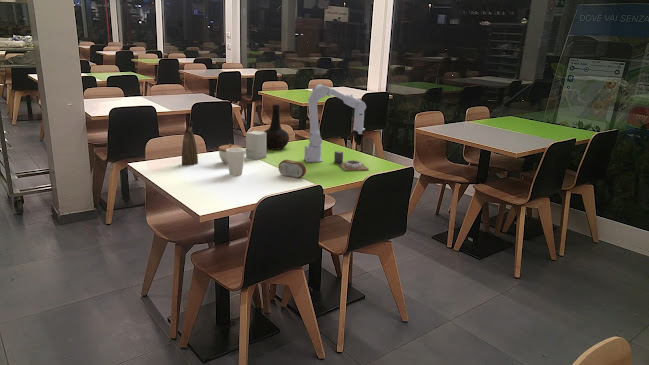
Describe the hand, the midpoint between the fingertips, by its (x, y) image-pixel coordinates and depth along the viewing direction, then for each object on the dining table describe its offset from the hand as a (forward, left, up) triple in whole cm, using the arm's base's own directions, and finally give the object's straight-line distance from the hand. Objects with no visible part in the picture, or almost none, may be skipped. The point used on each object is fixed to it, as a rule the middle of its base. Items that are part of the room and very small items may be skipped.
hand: (357, 143), depth 288 cm
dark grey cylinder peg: (-13, -5, -10) cm, 17 cm away
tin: (-46, -31, -10) cm, 56 cm away
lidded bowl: (-75, 0, -10) cm, 76 cm away
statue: (-97, 0, -10) cm, 97 cm away
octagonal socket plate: (-8, -17, -10) cm, 21 cm away
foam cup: (-74, -23, -10) cm, 78 cm away
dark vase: (-44, +35, -10) cm, 57 cm away
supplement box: (-59, +12, -10) cm, 61 cm away
